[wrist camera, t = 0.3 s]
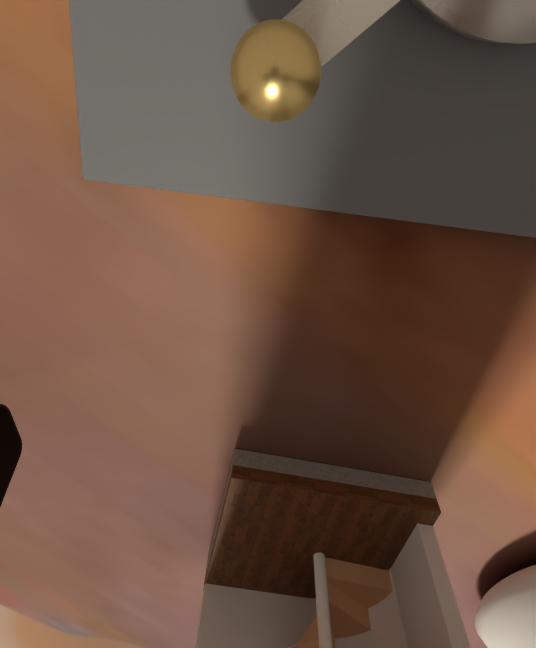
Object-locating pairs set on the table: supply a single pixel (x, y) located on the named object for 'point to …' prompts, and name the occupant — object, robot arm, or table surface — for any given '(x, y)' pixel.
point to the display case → (325, 561)
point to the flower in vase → (509, 612)
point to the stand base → (310, 115)
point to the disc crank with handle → (336, 33)
